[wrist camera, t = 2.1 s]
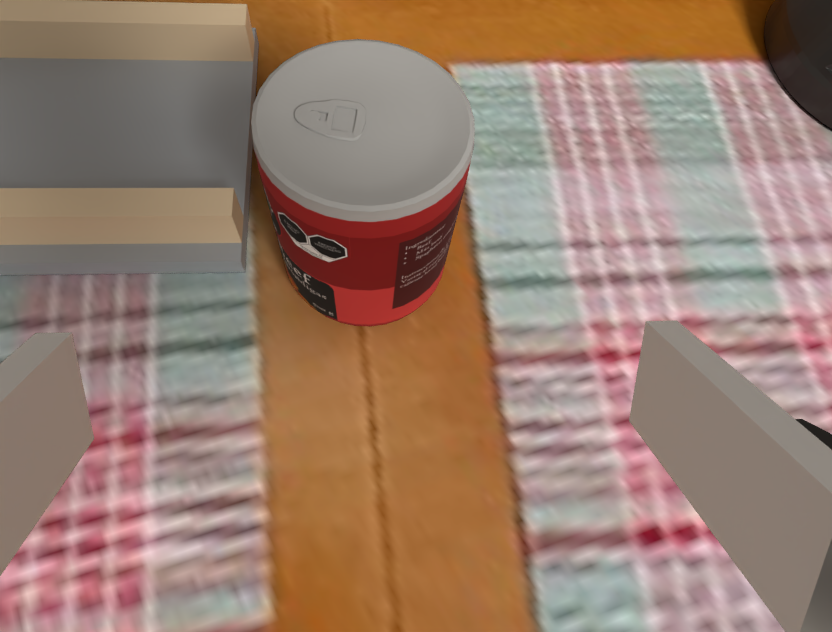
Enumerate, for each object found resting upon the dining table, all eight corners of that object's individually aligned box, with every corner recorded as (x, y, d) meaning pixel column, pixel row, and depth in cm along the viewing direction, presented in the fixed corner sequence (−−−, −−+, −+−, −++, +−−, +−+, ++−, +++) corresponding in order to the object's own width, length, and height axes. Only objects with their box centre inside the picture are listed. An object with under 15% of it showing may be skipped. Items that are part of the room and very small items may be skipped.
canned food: (280, 206, 33) (241, 43, 23) (429, 191, 34) (455, 29, 24) (293, 341, 30) (256, 224, 20) (455, 321, 31) (497, 199, 21)
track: (258, 44, 37) (247, -10, 34) (245, 272, 32) (230, 235, 28) (-65, 38, 36) (-111, -19, 32) (-140, 276, 30) (-205, 238, 27)
